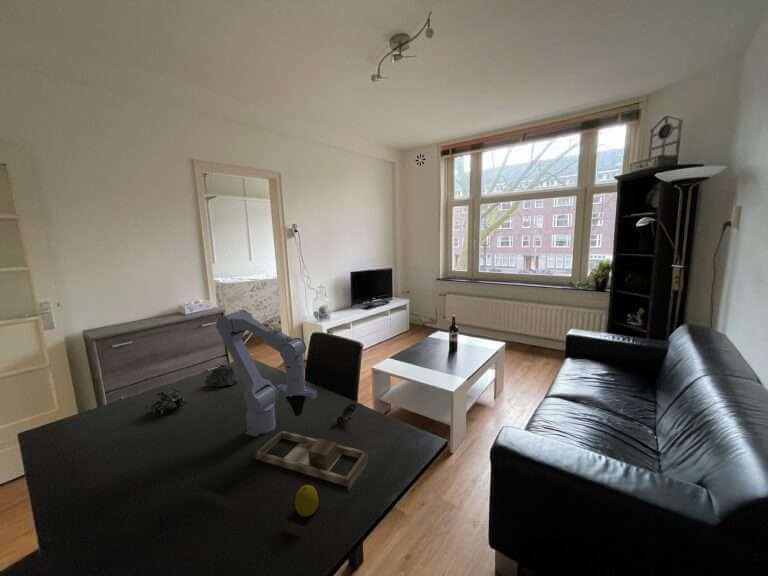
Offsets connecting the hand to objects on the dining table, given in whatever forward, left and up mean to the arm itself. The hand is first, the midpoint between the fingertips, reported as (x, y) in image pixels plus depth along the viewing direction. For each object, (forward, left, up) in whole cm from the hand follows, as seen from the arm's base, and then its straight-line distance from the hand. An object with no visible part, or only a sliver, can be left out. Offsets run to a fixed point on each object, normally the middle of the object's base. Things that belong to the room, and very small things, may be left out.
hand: (298, 414), depth 107 cm
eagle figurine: (+10, +14, -10) cm, 20 cm away
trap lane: (+10, -8, -9) cm, 16 cm away
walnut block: (+14, -8, -8) cm, 18 cm away
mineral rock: (-61, +23, -10) cm, 66 cm away
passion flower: (-62, -3, -10) cm, 63 cm away
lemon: (+20, -24, -10) cm, 33 cm away
